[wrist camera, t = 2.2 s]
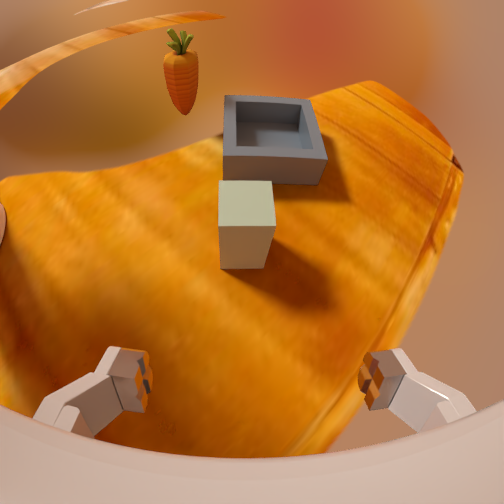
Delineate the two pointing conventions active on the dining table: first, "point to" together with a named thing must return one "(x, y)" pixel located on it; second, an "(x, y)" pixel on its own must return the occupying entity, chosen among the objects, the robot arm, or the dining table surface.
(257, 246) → the sage block
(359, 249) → the dining table surface
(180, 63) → the carrot
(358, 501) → the robot arm
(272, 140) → the gray open box
